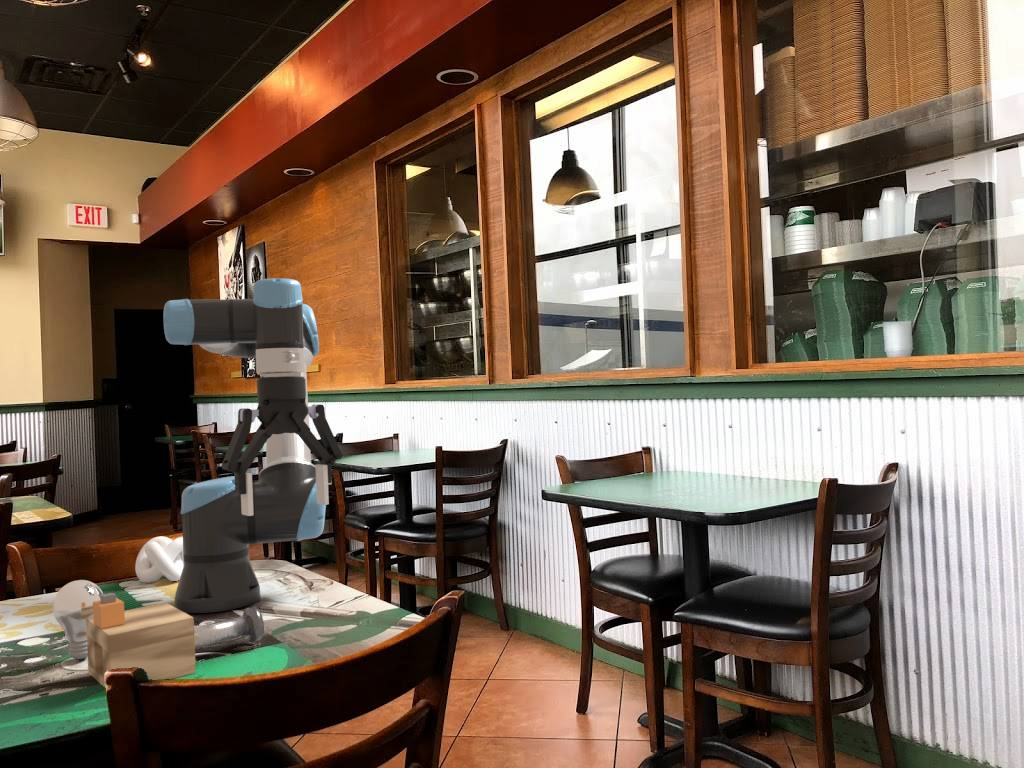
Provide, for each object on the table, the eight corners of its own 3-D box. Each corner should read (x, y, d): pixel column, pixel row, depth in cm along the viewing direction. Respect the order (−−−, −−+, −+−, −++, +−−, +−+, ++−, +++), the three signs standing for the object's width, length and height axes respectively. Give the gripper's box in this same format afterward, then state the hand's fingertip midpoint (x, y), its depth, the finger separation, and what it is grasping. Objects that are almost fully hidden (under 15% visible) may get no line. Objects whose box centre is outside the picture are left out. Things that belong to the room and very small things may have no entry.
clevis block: (88, 672, 116) (86, 618, 116) (167, 653, 124) (165, 602, 124) (111, 694, 107) (109, 635, 107) (195, 672, 114) (193, 617, 114)
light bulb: (67, 654, 125) (64, 576, 125) (114, 650, 126) (111, 573, 126) (45, 669, 118) (42, 587, 118) (95, 666, 119) (92, 584, 119)
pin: (164, 657, 120) (163, 622, 120) (250, 636, 129) (249, 603, 129) (176, 665, 116) (175, 629, 116) (264, 643, 125) (263, 609, 125)
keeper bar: (93, 623, 113) (92, 594, 113) (116, 618, 115) (115, 590, 115) (101, 628, 110) (100, 599, 110) (124, 623, 112) (123, 595, 112)
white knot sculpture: (120, 587, 169) (119, 544, 169) (155, 573, 181) (153, 533, 181) (170, 587, 167) (168, 543, 167) (202, 573, 179) (200, 533, 179)
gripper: (214, 377, 119) (220, 522, 119) (359, 373, 135) (364, 501, 136) (195, 378, 125) (201, 517, 125) (337, 374, 141) (342, 497, 141)
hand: (286, 509), depth 130 cm, fingers open, 12 cm apart
